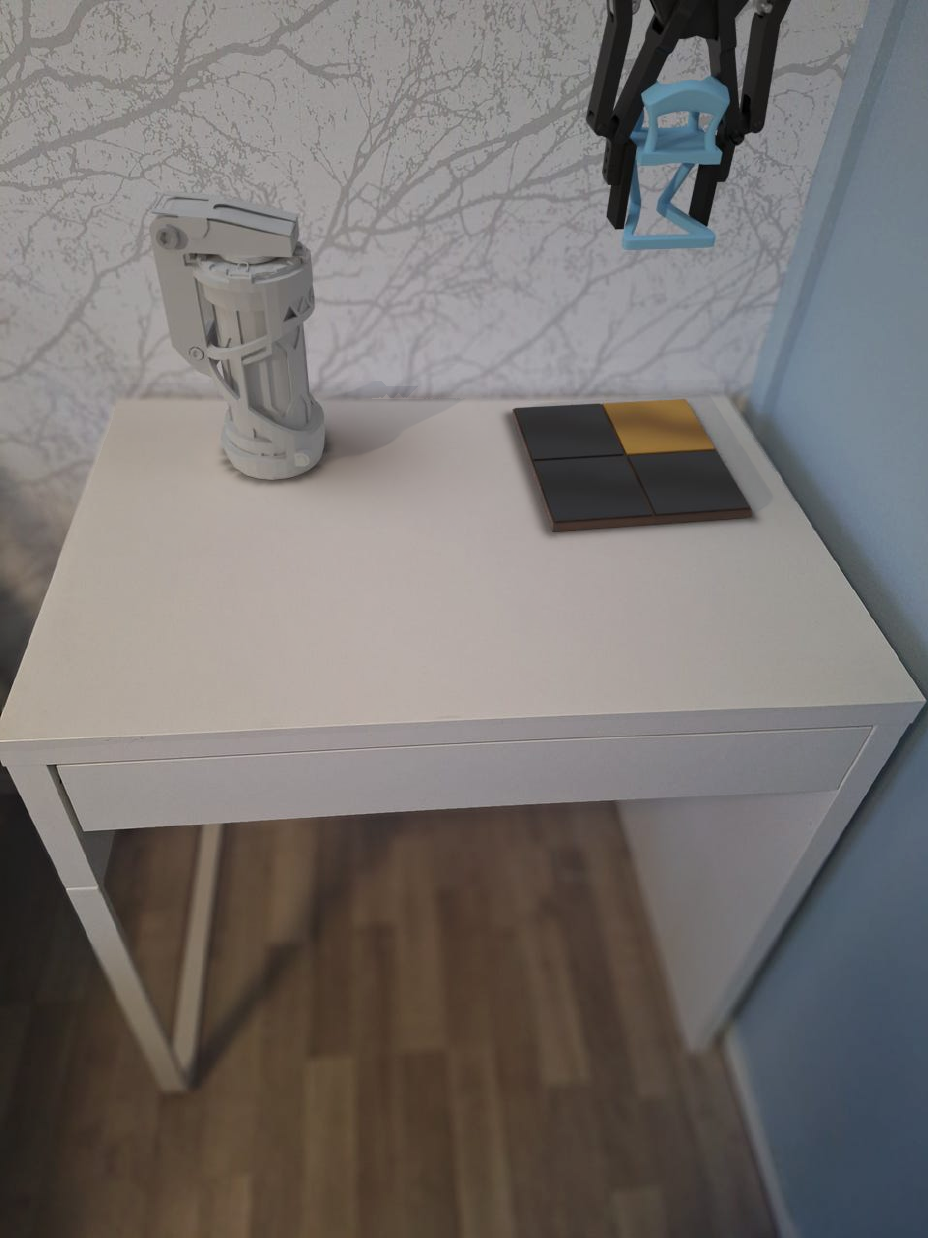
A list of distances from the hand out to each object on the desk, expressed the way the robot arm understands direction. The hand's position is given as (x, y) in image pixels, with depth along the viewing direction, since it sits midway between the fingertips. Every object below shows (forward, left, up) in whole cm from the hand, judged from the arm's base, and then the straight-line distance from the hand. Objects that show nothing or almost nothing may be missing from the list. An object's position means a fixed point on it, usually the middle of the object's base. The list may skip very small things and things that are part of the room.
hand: (656, 220), depth 78 cm
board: (0, -1, -25) cm, 25 cm away
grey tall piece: (+6, +36, -25) cm, 44 cm away
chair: (0, 0, -1) cm, 1 cm away
